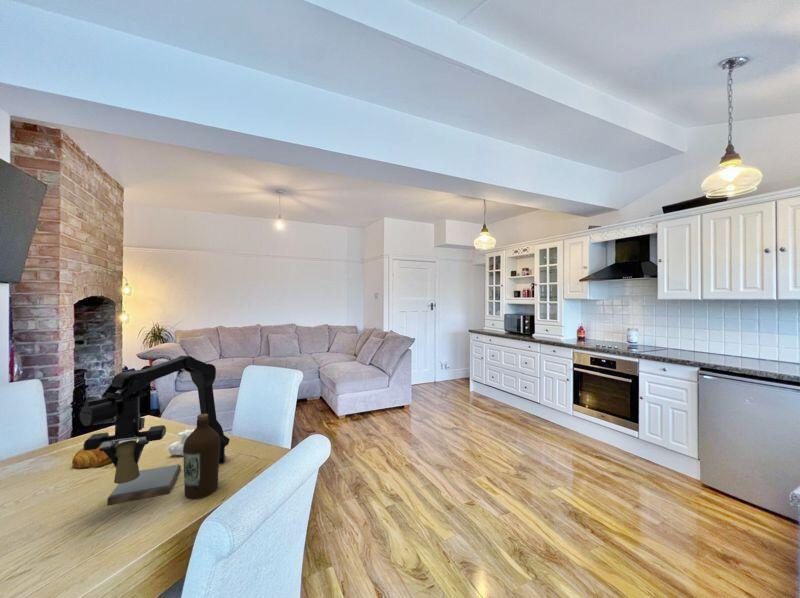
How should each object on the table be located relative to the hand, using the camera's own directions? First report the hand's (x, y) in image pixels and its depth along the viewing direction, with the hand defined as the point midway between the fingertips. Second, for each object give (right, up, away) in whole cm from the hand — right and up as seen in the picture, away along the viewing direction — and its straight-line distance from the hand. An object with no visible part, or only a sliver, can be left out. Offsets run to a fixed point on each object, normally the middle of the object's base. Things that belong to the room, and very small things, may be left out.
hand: (127, 464), depth 99 cm
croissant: (-35, -13, +29) cm, 47 cm away
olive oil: (+18, -13, +8) cm, 23 cm away
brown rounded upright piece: (0, -4, 0) cm, 4 cm away
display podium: (-2, -13, +11) cm, 17 cm away
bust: (-5, -13, +35) cm, 38 cm away
